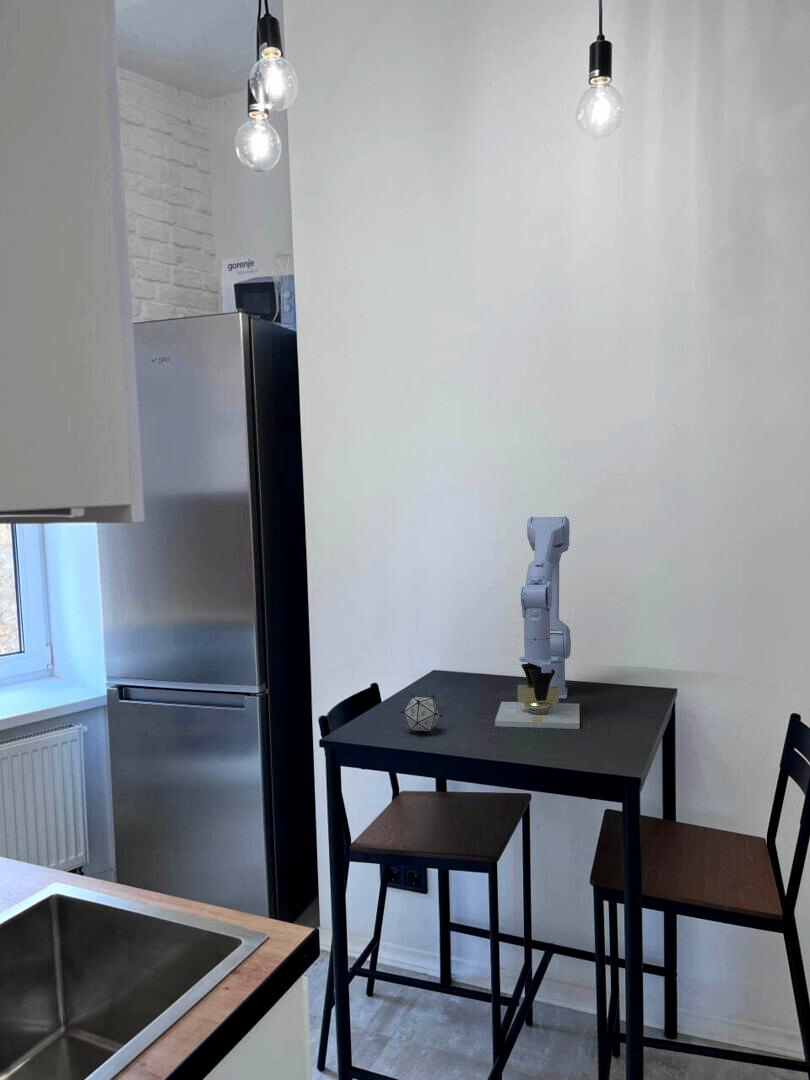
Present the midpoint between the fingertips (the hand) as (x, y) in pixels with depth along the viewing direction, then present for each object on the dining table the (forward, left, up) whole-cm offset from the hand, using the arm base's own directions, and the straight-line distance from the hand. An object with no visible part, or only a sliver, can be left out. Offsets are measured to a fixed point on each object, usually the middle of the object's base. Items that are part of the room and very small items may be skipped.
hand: (538, 697), depth 189 cm
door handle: (0, 0, -2) cm, 2 cm away
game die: (+14, -24, -5) cm, 28 cm away
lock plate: (0, 0, -4) cm, 4 cm away
